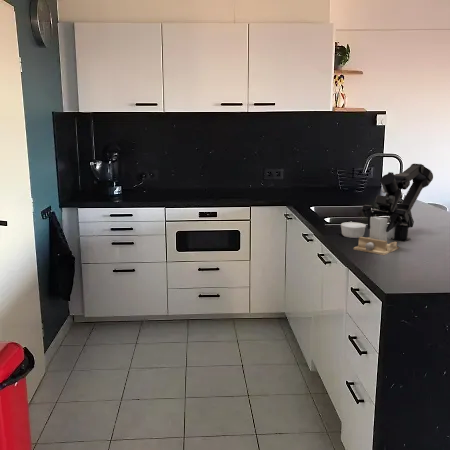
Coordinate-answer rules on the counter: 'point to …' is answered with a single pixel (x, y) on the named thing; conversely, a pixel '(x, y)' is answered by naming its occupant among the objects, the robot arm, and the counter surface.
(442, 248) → the counter surface
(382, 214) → the robot arm
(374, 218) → the skincare box
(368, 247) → the cradle
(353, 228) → the ramekin
